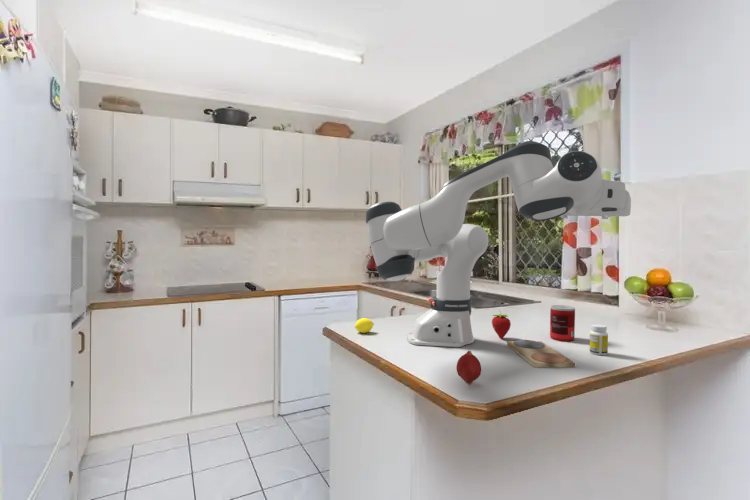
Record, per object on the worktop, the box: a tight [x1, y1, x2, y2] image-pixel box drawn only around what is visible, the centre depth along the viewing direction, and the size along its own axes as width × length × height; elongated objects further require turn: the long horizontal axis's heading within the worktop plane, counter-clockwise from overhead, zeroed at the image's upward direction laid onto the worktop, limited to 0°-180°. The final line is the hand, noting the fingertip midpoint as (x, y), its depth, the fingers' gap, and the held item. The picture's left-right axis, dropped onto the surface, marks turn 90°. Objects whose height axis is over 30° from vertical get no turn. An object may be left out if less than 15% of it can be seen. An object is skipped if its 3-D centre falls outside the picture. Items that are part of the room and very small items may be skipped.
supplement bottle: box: [589, 323, 609, 356], centre depth 121 cm, size 5×5×8 cm
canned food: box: [549, 304, 576, 343], centre depth 138 cm, size 8×8×11 cm
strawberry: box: [491, 309, 512, 339], centre depth 138 cm, size 6×8×10 cm
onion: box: [455, 350, 482, 385], centre depth 96 cm, size 6×6×8 cm
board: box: [506, 339, 576, 368], centre depth 119 cm, size 11×23×2 cm, turn 0°
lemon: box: [354, 317, 375, 334], centre depth 146 cm, size 7×5×5 cm
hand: (584, 216), depth 105 cm, fingers open, 8 cm apart
